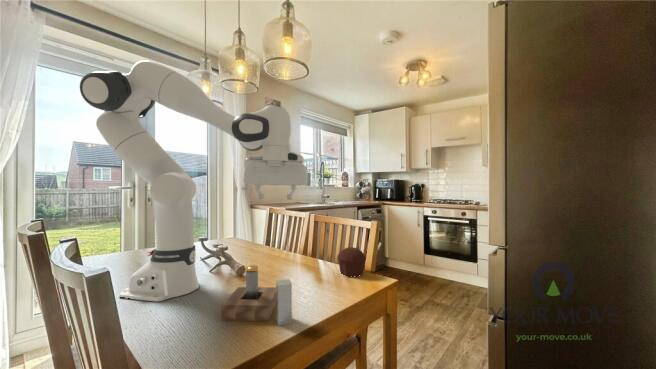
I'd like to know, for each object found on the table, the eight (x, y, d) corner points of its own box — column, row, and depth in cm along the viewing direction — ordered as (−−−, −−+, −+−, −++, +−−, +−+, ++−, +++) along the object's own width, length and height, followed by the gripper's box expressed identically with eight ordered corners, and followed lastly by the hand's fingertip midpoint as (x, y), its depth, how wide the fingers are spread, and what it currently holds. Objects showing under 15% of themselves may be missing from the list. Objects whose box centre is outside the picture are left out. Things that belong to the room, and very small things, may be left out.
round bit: (244, 312, 72) (244, 268, 72) (248, 307, 75) (248, 265, 76) (256, 312, 72) (256, 268, 72) (259, 307, 75) (259, 265, 76)
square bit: (278, 325, 66) (278, 285, 66) (276, 319, 69) (276, 280, 69) (291, 323, 67) (291, 283, 67) (289, 317, 70) (289, 279, 70)
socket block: (221, 320, 68) (221, 305, 68) (238, 300, 80) (238, 287, 80) (268, 321, 68) (268, 305, 68) (277, 300, 80) (277, 287, 80)
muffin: (332, 271, 108) (332, 246, 108) (356, 267, 112) (356, 244, 112) (346, 280, 97) (346, 253, 97) (371, 276, 101) (371, 250, 101)
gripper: (241, 154, 83) (239, 198, 83) (306, 155, 82) (305, 200, 82) (247, 157, 89) (246, 198, 89) (308, 158, 89) (307, 199, 88)
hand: (275, 199), depth 85 cm, fingers open, 8 cm apart
